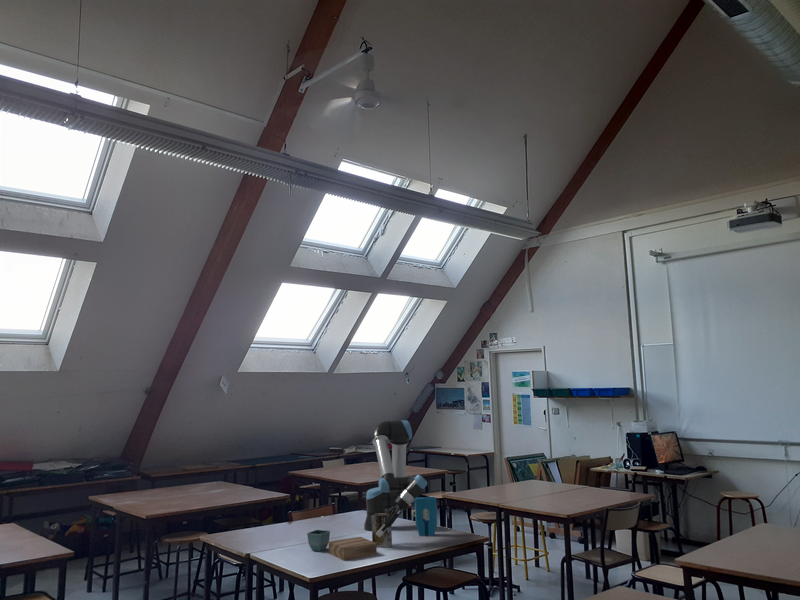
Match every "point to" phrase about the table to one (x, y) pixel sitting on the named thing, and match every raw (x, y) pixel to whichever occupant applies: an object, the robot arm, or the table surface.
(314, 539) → the flower pot
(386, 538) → the coffee box
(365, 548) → the walnut block
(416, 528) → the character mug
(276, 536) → the table surface
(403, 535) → the table surface
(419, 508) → the block
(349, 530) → the table surface
